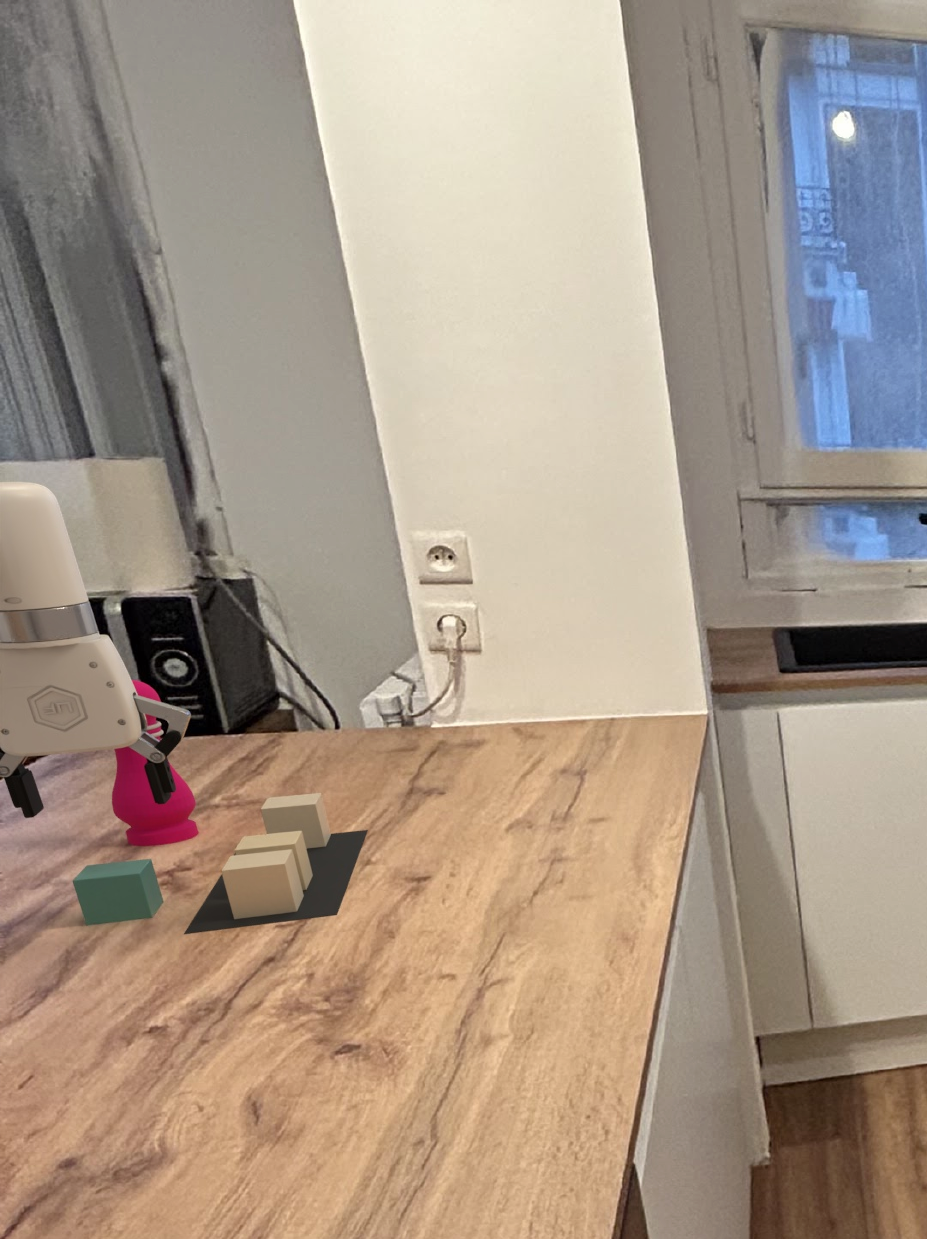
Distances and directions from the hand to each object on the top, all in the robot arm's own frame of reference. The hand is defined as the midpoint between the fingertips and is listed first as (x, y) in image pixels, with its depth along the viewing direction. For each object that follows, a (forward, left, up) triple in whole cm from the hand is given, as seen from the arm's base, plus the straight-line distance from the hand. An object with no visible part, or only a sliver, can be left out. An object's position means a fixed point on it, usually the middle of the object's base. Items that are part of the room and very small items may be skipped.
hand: (100, 807), depth 128 cm
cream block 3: (+12, -4, -11) cm, 16 cm away
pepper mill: (-2, +28, -11) cm, 30 cm away
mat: (+12, +6, -11) cm, 17 cm away
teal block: (0, 0, -11) cm, 11 cm away
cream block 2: (+12, +3, -11) cm, 16 cm away
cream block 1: (+12, +19, -11) cm, 25 cm away
